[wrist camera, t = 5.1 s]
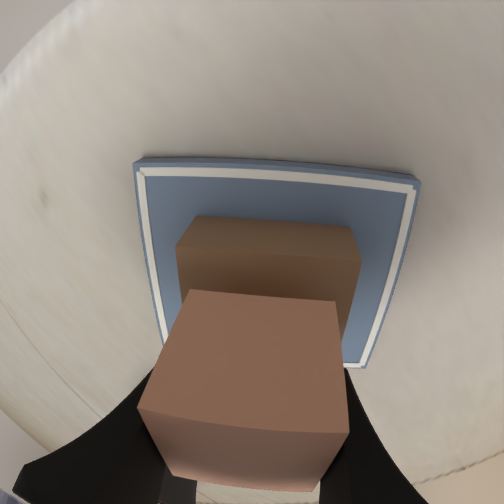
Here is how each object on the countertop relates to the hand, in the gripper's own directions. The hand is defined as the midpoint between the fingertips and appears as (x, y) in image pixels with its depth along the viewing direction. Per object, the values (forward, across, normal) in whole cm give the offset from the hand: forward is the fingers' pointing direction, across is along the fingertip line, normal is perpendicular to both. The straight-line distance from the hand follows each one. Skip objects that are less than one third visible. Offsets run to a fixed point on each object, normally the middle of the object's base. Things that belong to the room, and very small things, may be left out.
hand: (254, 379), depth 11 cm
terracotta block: (+2, 0, 0) cm, 2 cm away
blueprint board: (+7, 0, 0) cm, 7 cm away
